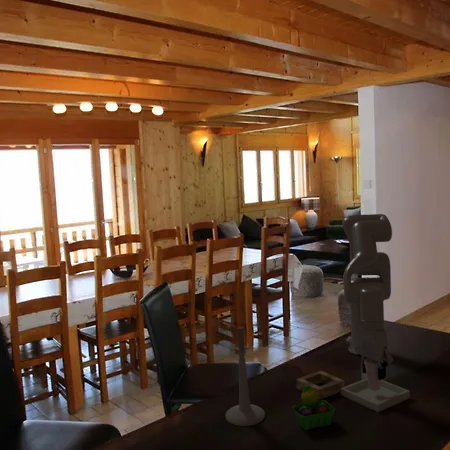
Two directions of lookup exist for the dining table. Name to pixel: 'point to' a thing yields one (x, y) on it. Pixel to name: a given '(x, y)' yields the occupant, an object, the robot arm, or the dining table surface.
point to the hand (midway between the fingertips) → (374, 375)
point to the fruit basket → (313, 410)
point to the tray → (375, 395)
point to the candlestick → (244, 393)
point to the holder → (318, 377)
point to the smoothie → (372, 374)
